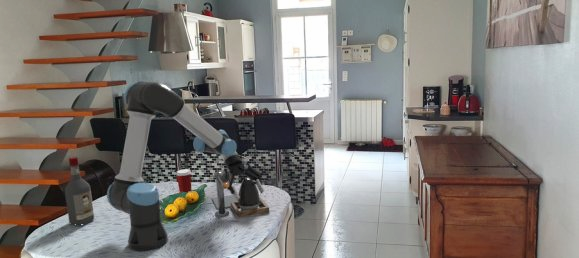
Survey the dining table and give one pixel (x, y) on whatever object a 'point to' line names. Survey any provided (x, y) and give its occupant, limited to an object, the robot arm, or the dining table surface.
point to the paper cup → (184, 180)
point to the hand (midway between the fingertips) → (250, 195)
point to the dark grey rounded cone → (248, 195)
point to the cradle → (252, 211)
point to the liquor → (78, 197)
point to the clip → (221, 178)
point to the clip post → (220, 200)
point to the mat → (227, 201)
